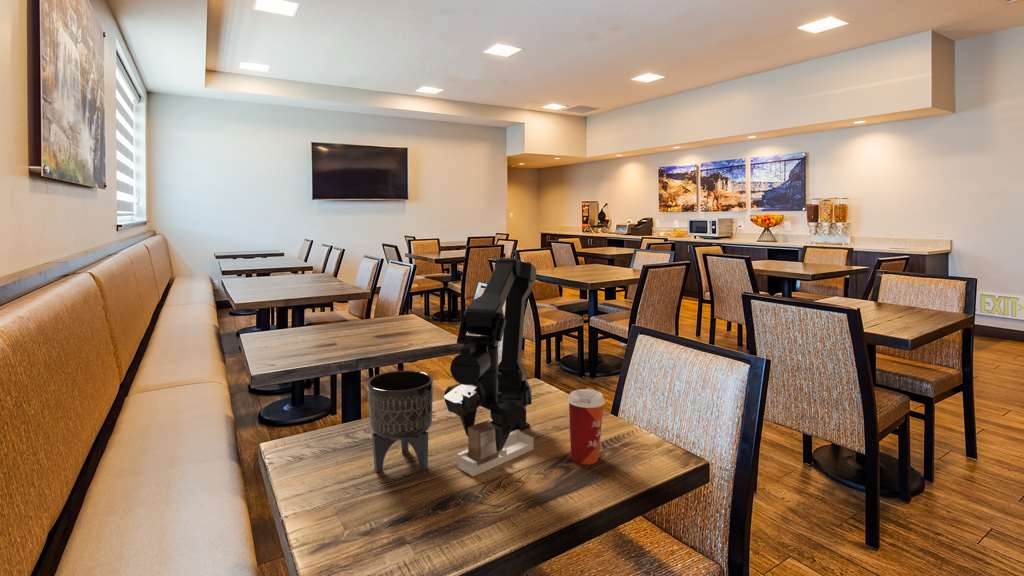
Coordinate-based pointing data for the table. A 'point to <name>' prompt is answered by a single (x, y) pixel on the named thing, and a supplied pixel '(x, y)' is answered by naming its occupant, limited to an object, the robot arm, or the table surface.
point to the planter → (400, 413)
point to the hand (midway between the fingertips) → (483, 443)
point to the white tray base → (512, 449)
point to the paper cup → (585, 425)
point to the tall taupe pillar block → (482, 442)
